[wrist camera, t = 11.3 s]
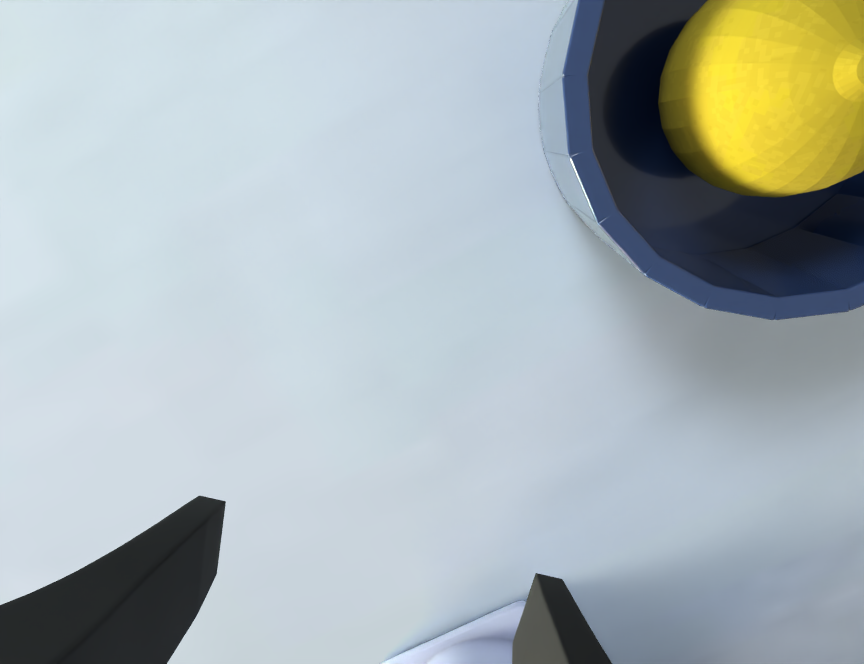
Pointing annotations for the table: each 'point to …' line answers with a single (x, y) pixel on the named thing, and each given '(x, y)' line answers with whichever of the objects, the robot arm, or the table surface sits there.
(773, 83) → the lemon
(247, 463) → the table surface
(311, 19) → the table surface
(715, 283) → the blue mug
